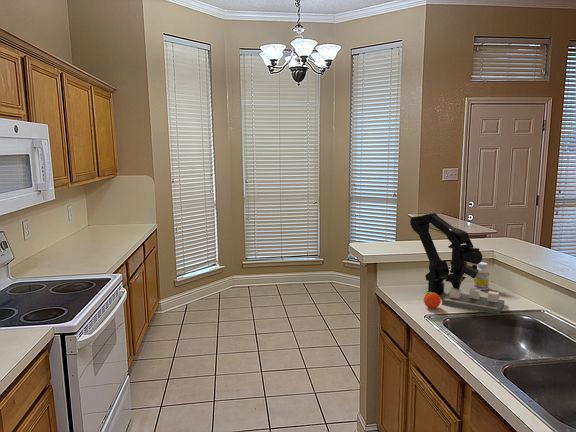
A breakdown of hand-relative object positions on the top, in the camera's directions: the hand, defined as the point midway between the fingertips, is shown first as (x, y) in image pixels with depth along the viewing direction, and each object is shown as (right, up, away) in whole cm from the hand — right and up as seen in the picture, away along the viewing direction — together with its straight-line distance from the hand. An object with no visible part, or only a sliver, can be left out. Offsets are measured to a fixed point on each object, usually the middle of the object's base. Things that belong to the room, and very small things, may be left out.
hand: (456, 292), depth 196 cm
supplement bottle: (+18, -1, +17) cm, 25 cm away
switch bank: (+5, -4, -5) cm, 9 cm away
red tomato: (-15, -5, -9) cm, 18 cm away
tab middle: (+7, -2, -3) cm, 8 cm away
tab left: (-2, -2, -2) cm, 3 cm away
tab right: (+13, -2, -7) cm, 15 cm away
